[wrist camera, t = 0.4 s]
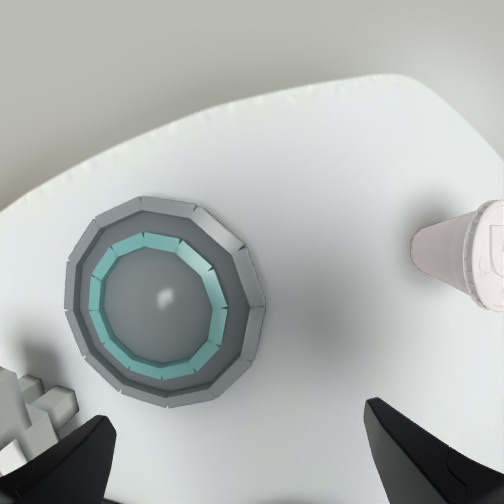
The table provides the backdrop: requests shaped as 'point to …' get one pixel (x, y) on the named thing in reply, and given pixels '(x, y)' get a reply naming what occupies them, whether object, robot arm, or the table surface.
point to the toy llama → (30, 418)
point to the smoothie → (467, 254)
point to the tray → (164, 302)
